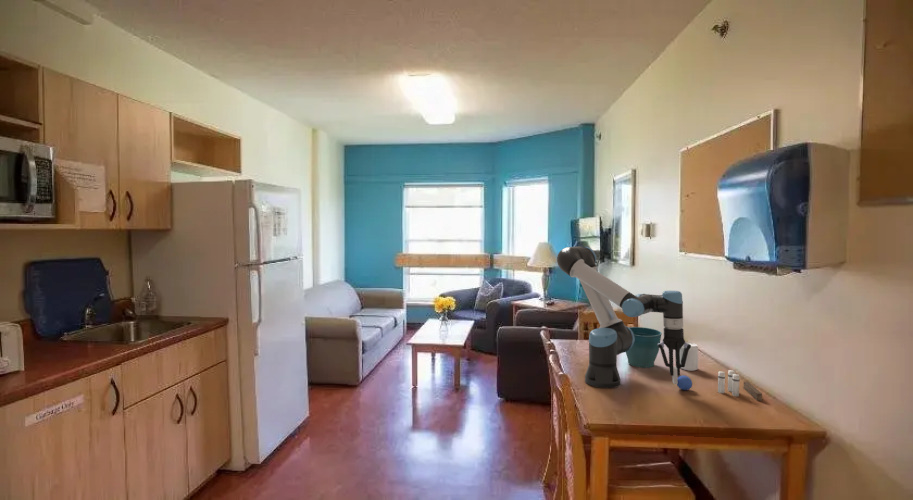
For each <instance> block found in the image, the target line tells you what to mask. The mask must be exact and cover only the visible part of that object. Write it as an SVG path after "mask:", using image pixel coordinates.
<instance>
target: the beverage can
mask: <svg viewBox="0 0 913 500" xmlns="http://www.w3.org/2000/svg"><path fill="white" fill-rule="evenodd" d="M685 342H686V341H685ZM686 343H688V344H690V345H691V348H690V349H689V351H688V355H687V359H686V363H685V367H681V368H680V369H681V370H684V371H689V372H690V371H691V372H693V371H696V370H698V369H699V346H698V344H696V343H693V342H688V341H687V342H686ZM684 348H685V347H684V345H683V346H682V347H681V349H680V363H681V359H682V355H683V351H684Z"/></svg>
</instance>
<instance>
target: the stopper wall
mask: <svg viewBox="0 0 913 500" xmlns="http://www.w3.org/2000/svg"><path fill="white" fill-rule="evenodd" d="M742 388H743V390H745V391H746V392H747V393H748V394H749V395H750V396H751V397H752V398H753V399H754V400H756V401H757V402H763V393H762V392H761V391H759V390H758V389H757V388H756V387H755V386H754V385H752V384H751V383H750V382H749V381H747V380H746V381H744V380H743V387H742Z"/></svg>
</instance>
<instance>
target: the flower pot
mask: <svg viewBox="0 0 913 500" xmlns="http://www.w3.org/2000/svg"><path fill="white" fill-rule="evenodd" d="M627 327H628V328H630V329H631V330H632V332H633V334H634V338H635V341H634V344H633V346H632V348H630V349H629V350H628V351H626V352H625V353H626V357H627V362H628V363H627V364H628V365H630V366H632V367H635V368H642V369H648V368H653V367H654V366H655V361H656V359H657V357H658V354H659V352H660V348H659V346H658V345H657V344H658V343H661V340H662V334H663V333H662V332H661V331H660V330H658V329H654V328H649V327H643V326H641V327H640V326H627Z"/></svg>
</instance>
